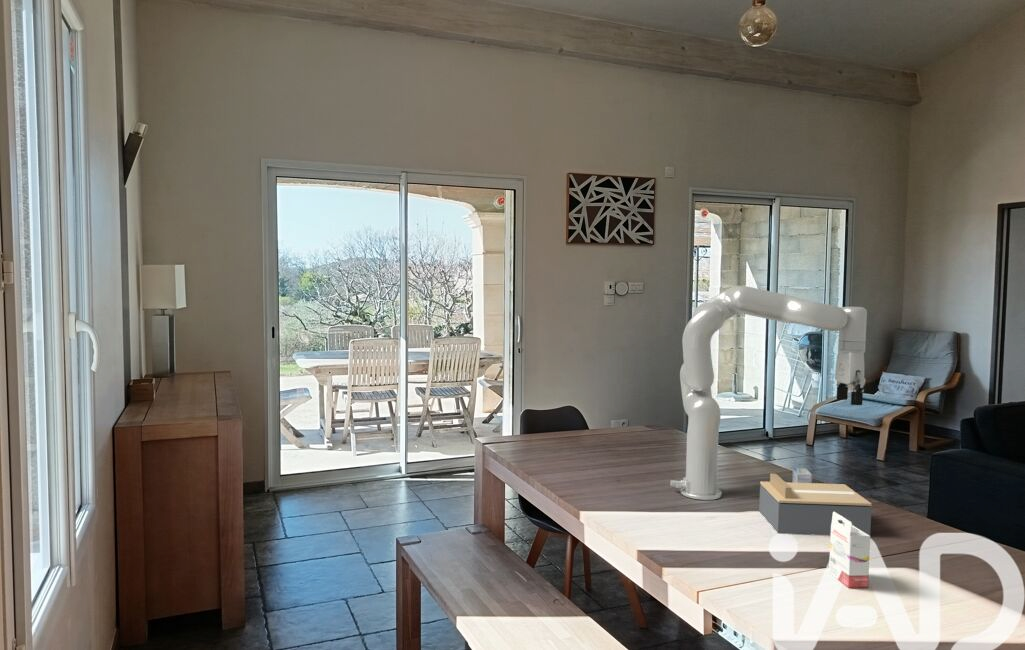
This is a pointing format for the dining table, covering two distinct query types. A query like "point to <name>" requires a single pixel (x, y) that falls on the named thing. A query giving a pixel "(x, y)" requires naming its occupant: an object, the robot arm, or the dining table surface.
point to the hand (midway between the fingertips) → (849, 402)
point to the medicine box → (801, 476)
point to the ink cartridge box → (849, 553)
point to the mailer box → (810, 515)
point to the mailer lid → (812, 493)
